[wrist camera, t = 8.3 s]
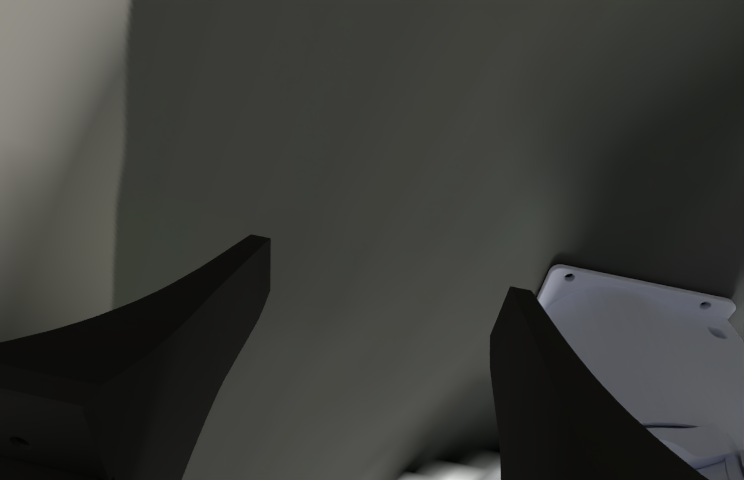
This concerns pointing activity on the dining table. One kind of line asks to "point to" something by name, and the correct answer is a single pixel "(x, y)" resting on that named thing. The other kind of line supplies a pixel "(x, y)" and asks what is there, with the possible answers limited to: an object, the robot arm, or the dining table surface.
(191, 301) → the robot arm
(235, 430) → the dining table surface
